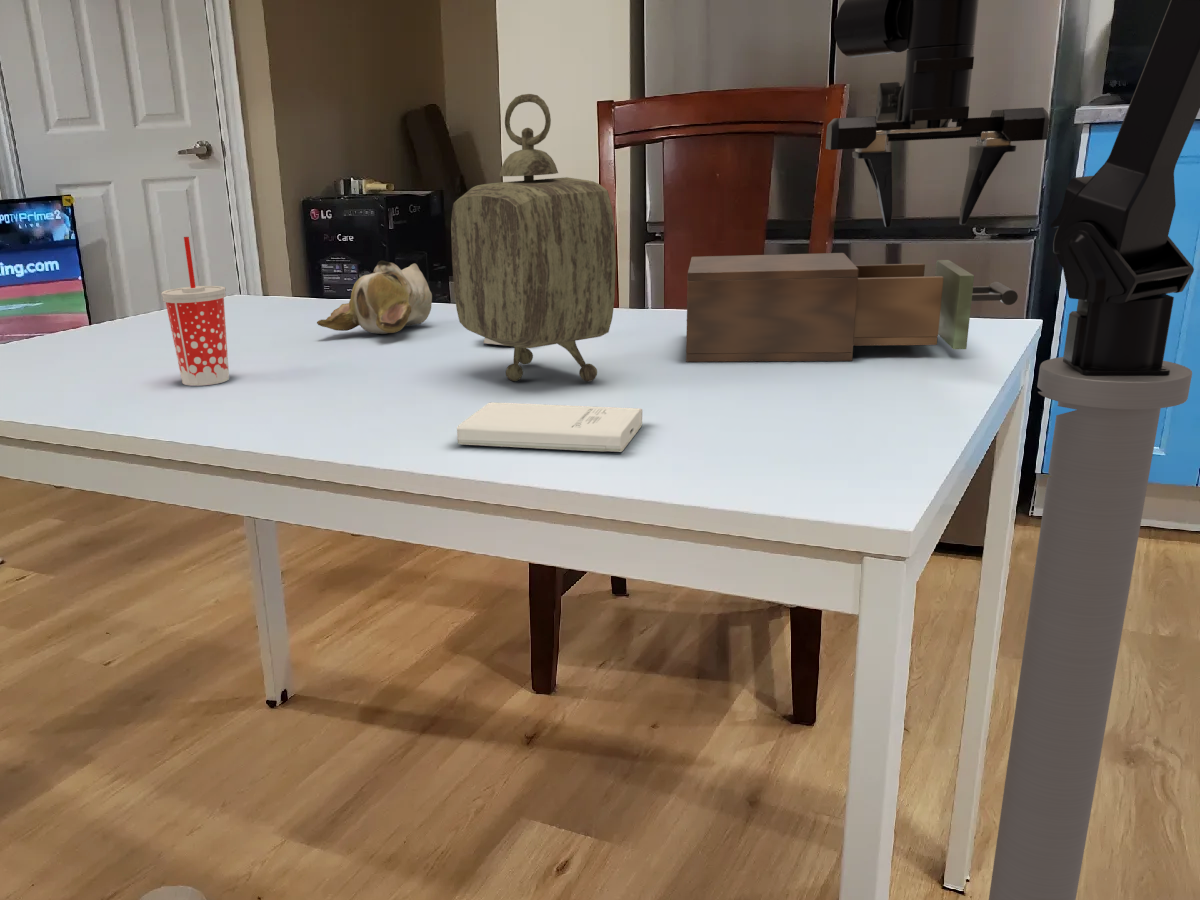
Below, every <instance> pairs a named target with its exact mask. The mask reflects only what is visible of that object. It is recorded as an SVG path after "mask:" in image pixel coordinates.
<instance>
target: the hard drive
mask: <svg viewBox="0 0 1200 900" xmlns="http://www.w3.org/2000/svg"><path fill="white" fill-rule="evenodd" d="M642 426H643V408H638V407H637V408H636V407H616V406H615V407H610V406H587V405H566V404H541V403H540V404H538V403H515V402H492V401H491V402H488V403H487V404H485V405H484V406H483V407H481V408H480V409H479V410H477V411H475V412H473V414H471V415H470V416H469V417H467V418H466V419H464V420H463V421H461V423H460V424H458V425H457V427H456V439H457V444H458V445H462V446H463V445H465V446H484V447H501V448H523V449H538V450H539V449H540V450H541V449H542V450H561V451H562V450H563V451H579V452H580V451H581V452H582V451H583V452H602V453H603V452H613V453H622V452H623V451H624V450H625V449H626V447H627V446H628V445H629V444H630V443H631V441H632V440H633V438H634V437H635V436H636V434H637V433H638V432H639V430H640V429H641V427H642Z"/></svg>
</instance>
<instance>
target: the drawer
mask: <svg viewBox="0 0 1200 900" xmlns="http://www.w3.org/2000/svg"><path fill="white" fill-rule="evenodd" d="M854 265H855V266H856V267H857V268H858V269H859V272H858V286H857V300H856V314H855V328H854V342H853V347H854V346H855V347H856V346H857V347H859V346H860V347H861V346H862V347H864V346H937V344H938V337H939V338H941V339H942V340H943V341H944V342H945V343H946V344H947V345H948V346H949V347H950V348H951V349H952V350H967V346H968V338H969V329H970V319H971V312H972V311H971V310H972V309H971V308H972V302H994V301H995V302H997V301H999V302H1000V303H1002V304H1004V305H1006V306H1011V305H1014V304H1015V303H1016V302H1017V301H1018V299H1019V295H1018V293H1017V291H1016V290H1014V289H1012V288H1011V287H1008V286H1006V284H1004V283H1002V282H1000V281H993V282H991V283H990V284H989V285H985V286H984V285H980V286H978V285H977V286H976V285H975V286H974V283H975V282H974V281H975V275H974V274H973V273H971V272H969V271H967V270H966V269H964V268H962V267H961V266H959V265H957V263H955V262H952V261H951V260H950V259H939V260H938V259H937V260H936V263H935V274H934V276H931V275H930V276H925V272H926V271H925V269H926V264H925V263H883V264H881V263H880V264H877V263H876V264H854Z"/></svg>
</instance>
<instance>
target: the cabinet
mask: <svg viewBox="0 0 1200 900" xmlns="http://www.w3.org/2000/svg"><path fill="white" fill-rule="evenodd" d="M855 265H856V264H855V263H854V262H853V261H852V260H851V259H850V258H849V257H848V256H847V255H846V253H845V252H830V253H829V252H828V253H827V252H825V253H789V254H787V253H785V254H750V255H749V254H747V255H713V256H712V255H708V256H707V255H705V256H704V255H703V256H691V258H690V262H689V267H688V270H687V286H686V287H687V289H686V290H687V291H686V338H685V339H686V341H685V343H686V344H685V348H686V349H685V362H686V363H688V362H689V363H696V362H697V363H698V362H703V363H705V362H707V363H708V362H709V363H710V362H711V363H712V362H715V363H717V362H718V363H719V362H720V363H722V362H725V363H726V362H852V361H853V353H854V346H853V342H854V328H855V314H856V300H857V286H858V272H859V269H858V268H857V267H856V266H855Z"/></svg>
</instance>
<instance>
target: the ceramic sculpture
mask: <svg viewBox="0 0 1200 900" xmlns="http://www.w3.org/2000/svg"><path fill="white" fill-rule="evenodd" d="M432 303H433V293H432V291H431V290H430V287H429V283H428V282H427V278H426V277H425V275H424V274H423V272H422V271H421V270H420V268H419V266H418V264H417V263H412V264H410V265H409V266H408V267H404V268H403V269H401V268H400V267H399V266H398V265H397V264H395V263H394V262H389V261H386V260H380V261H378V262H377V264H376V266H375V267H374V269H373V272H372V273H368V274H364V275H362V276H360V277H359V278H358V279H357V280H356V281H355V282H354V284H353V287H352V290H351V293H350V299H349V301H348V303H341V304H340V305H339V307H337V308H335V309H334V310H333V311H332V312H330V315H329V316H328V317H326V319H319V320H318V321H316V324H317V326H319V327H323V328H327V329H330V330H333V331H337V332H338V331H339V332H346V331H352V330H353V329H355V328H357V327H358V326H360V328H362V330H364V331H366V332H367V333H371V334H378V335H379V334H381V335H386V334H395V333H398V332H400V331H401V330H403V329H404V327H405V326H407V327H411V326H415V325H421V324H423V323H425V322H426V320H428V317H429V315H430V314H431V311H432V305H433V304H432Z"/></svg>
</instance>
